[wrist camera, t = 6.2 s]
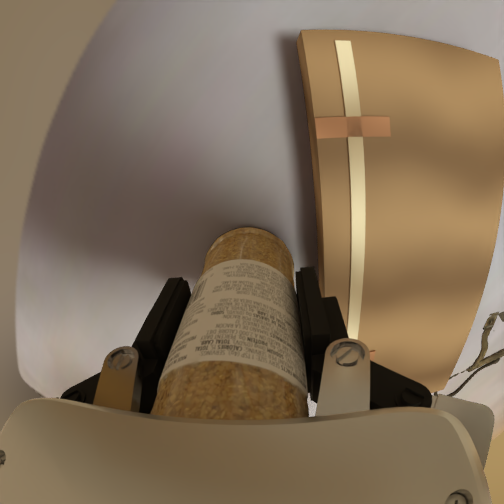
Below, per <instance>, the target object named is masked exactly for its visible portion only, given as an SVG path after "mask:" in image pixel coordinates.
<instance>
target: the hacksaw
mask: <svg viewBox="0 0 504 504" xmlns="http://www.w3.org/2000/svg"><path fill="white" fill-rule="evenodd" d="M490 315H492V316H490ZM490 315H489V316H490V317H489V318H488V319H487V322H486V324H485V326H484V328H483V330H484V332H483V334H482V342H481V344H482V348H481V351H480V354H479V356H478V358H477V359H476V360H475V362H474V364H473V365H472V366H470V367H469V368H468V369H466V371H468V372H470V371H472V370H474V369H476V368H478V367H480V366H482V365H484V364H485V363H486V365H484V366H482V367H480V368H479V369H477V370H476V371H475V372H474V373H473V374H472V375H471V376H470V377H469V378H468V379H467V380H466V381H465V382H464V383H463V384H462V385H461V386H460V387H459V388H458V389H457V390H456V391H455V392H453V393H451V394H449V395H447V396H450V397H452V396H454V395H455V394H456V393H458V392H459V391H460V390H461V389H462V388H463V386H464V385H465V384H466V383H468V381H469V380H470V379H471V378H472V377H473V376H474V375H475V374H476V373H477V372H478V371H480V370H481V369H483V368H485V367H487V366H490V365H492V364H496V363H497V362H498V361H499V360H500V357H502V356H504V349H502V350H500V351H498V352H497V353H494V354H492V355H491V356H488V357H486V358H484V356H485V353H486V351H487V349H488V341H487V338H488V336H489V333H490V331H491V329H492V327H493V325H494V323H495V320H496V318H497V315H499V317H500V318H501V320H502V321H503V322H504V312H502V313H500V314H499V312H497V313H493V314H490ZM483 358H484V359H483ZM487 363H488V364H487ZM463 372H464V371H463ZM463 372H461V373H463ZM458 374H459V373H457V374H455V375H454V376H456V375H458ZM452 377H453V376H452ZM452 377H450V378H449V379H451V378H452ZM434 396H437V397H438V394H437V391H436V392H434Z"/></svg>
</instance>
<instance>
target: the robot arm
mask: <svg viewBox="0 0 504 504" xmlns="http://www.w3.org/2000/svg"><path fill="white" fill-rule="evenodd" d="M296 290H297V300H298V307H299V315H300V323H301V332H302V340H303V349H304V359H305V367H306V378H307V389H308V393H310V398H311V400H313V401H314V402H315V403H317V409H316V414H315V416H314V417H303V418H289V419H269V420H217V419H196V418H182V417H171V416H162V415H153V414H150V413H151V411H152V408H153V406H154V402H155V399H156V396H157V388H158V384H159V380H160V377H161V375H162V372H163V369H164V366H165V363H166V361H167V358H168V355H169V353H170V350H171V347H172V345H173V342H174V339H175V336H176V334H177V331H178V328H179V326H180V323H181V320H182V318H183V315H184V312H185V310H186V307H187V305H188V302H189V299H190V297H191V292H190V288H189V284H188V282H187V281H186V280H185V281H184V280H183V278H182V277H180V278H169V279H168V280H167V282H166V284H165V286H164V288H163V289H162V291H161V293H160V295H159V297H158V299H157V300H156V302H155V304H154V306H153V308H152V309H151V311H150V312H149V314H148V316H147V318H146V320H145V322H144V324H143V326H142V328H141V330H140V331H139V333H138V335H137V337H136V339H135V341H134V343H133V345H132V347H130V346H123V347H119V348H116V349H114V350H113V351H111V352H110V353H109V354H108V355H107V356H106V358H105V360H104V363H103V367H102V370H101V372H100V373H98V374H96V375H94V376H92V377H90V378H88V379H86V380H85V381H83V382H81V383H79V384H77V385H75V386H73V387H71V388H69V389H68V390H66V391H65V392H64V393H63V394H62V396H61V398H60V399H59V398H58V397H57V398H37V399H31V400H28V401H25V402H23V403H21V404H20V405H19V406H18V407H17V408H16V409H15V410H14V412H13V413H12V414H11V416H10V417H9V419H8V420H7V422H6V423H5V425H4V427H3V429H2V430H1V432H0V504H492V501H491V496H490V492H489V488H488V483H487V480H486V476H485V473H484V467H485V463H486V459H487V455H488V451H489V447H490V442H491V437H492V432H493V427H494V415H493V412H492V410H491V409H490V408H489V407H487V406H485V405H483V404H478V403H474V402H470V401H466V400H462V399H458V398H454V397H450V396H446V395H442V394H439V395H438V397H437V396H434V395H431V393H430V391H429V390H428V388H427V387H426V386H424V385H422V384H421V383H418V382H416V381H414V380H412V379H410V378H407V377H405V376H403V375H401V374H399V373H397V372H394V371H392V370H390V369H388V368H386V367H384V366H382V365H380V364H377V363H375V362H373V361H371V360H370V352H369V349H368V347H367V346H366V345H365V344H364V343H363V342H361V341H359V340H356V339H352V338H349V337H348V333H347V330H346V326H345V323H344V320H343V316H342V313H341V310H340V307H339V303H338V300H337V298H336V296H332V297H322V296H321V292H320V288H319V284H318V281H317V277H316V273H315V269H314V267H304V268H300V271H299V272H296Z"/></svg>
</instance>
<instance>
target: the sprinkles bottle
mask: <svg viewBox="0 0 504 504" xmlns="http://www.w3.org/2000/svg"><path fill="white" fill-rule="evenodd" d="M293 277H294V263H293V259H292V256H291V254H290V252H289V250H288V248H287V247H286V245H285V244H284V242H283V241H282V240H280V239H279V238H277V237H276V236H275V235H273V234H271V233H269V232H267V231H265V230H262V229H258V228H252V227H247V228H238V229H235V230H231V231H229V232H227V233H225V234H223V235H222V236H220V237H219V238H217V239H216V241H215V242H214V243H213V244H212V245H211V247H210V249H209V251H208V252H207V254H206V258H205V265H204V269H203V272H202V275H201V277H200V278H199V280H198V281H197V283H196V285H195V287H194V289H193V292H192V294H191V297H190V299H189V302H188V305H187V307H186V310H185V312H184V315H183V318H182V320H181V323H180V326H179V328H178V331H177V334H176V336H175V339H174V342H173V345H172V347H171V350H170V353H169V355H168V358H167V361H166V363H165V366H164V369H163V372H162V375H161V377H160V380H159V384H158V388H157V396H156V399H155V402H154V406H153V408H152V411H151V413H150V414H153V415H162V416H171V417H182V418H196V419H217V420H269V419H289V418H303V417H309V411H308V403H307V398H308V389H307V378H306V367H305V359H304V349H303V340H302V332H301V323H300V315H299V307H298V300H297V294H296V291H295V289H294V280H293Z"/></svg>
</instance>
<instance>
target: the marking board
mask: <svg viewBox="0 0 504 504" xmlns="http://www.w3.org/2000/svg"><path fill="white" fill-rule="evenodd" d="M296 44H297V50H298V56H299V62H300V68H301V75H302V82H303V89H304V96H305V104H306V112H307V120H308V128H309V137H310V147H311V157H312V168H313V180H314V193H315V207H316V224H317V243H318V271H319V288H320V292H321V296H322V297H332V296H336V298H337V300H338V303H339V307H340V310H341V313H342V316H343V320H344V323H345V326H346V330H347V333H348V337H349V338H352V339H356V340H359V341H361V342H363V343H364V344H365V345H366V346H367V347H368V349H369V352H370V360H371V361H373V362H375V363H377V364H380V365H382V366H384V367H386V368H388V369H390V370H392V371H394V372H397V373H399V374H401V375H403V376H405V377H407V378H410V379H412V380H414V381H416V382H418V383H421V384H422V385H424V386H426V387H427V388H428V390H429V391H430V393H433V392H436V391H440V390H443V389H444V388H445V386H446V384H447V382H448V380H449V378H450V376H451V374H452V372H453V369H454V367H455V365H456V363H457V361H458V359H459V356H460V354H461V352H462V349H463V347H464V345H465V342H466V340H467V337H468V335H469V332H470V330H471V327H472V324H473V321H474V319H475V316H476V313H477V310H478V307H479V304H480V301H481V298H482V294H483V291H484V288H485V284H486V281H487V277H488V273H489V269H490V265H491V261H492V257H493V252H494V248H495V243H496V238H497V232H498V226H499V220H500V213H501V206H502V198H503V188H504V97H503V88H502V80H501V73H500V66H499V60H497V59H495V58H492V57H489V56H486V55H483V54H480V53H477V52H474V51H470V50H467V49H464V48H460V47H456V46H452V45H448V44H444V43H440V42H435V41H431V40H426V39H420V38H415V37H409V36H402V35H395V34H388V33H378V32H367V31H352V30H301V32H300V34H299V37H298V40H297V42H296Z"/></svg>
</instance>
